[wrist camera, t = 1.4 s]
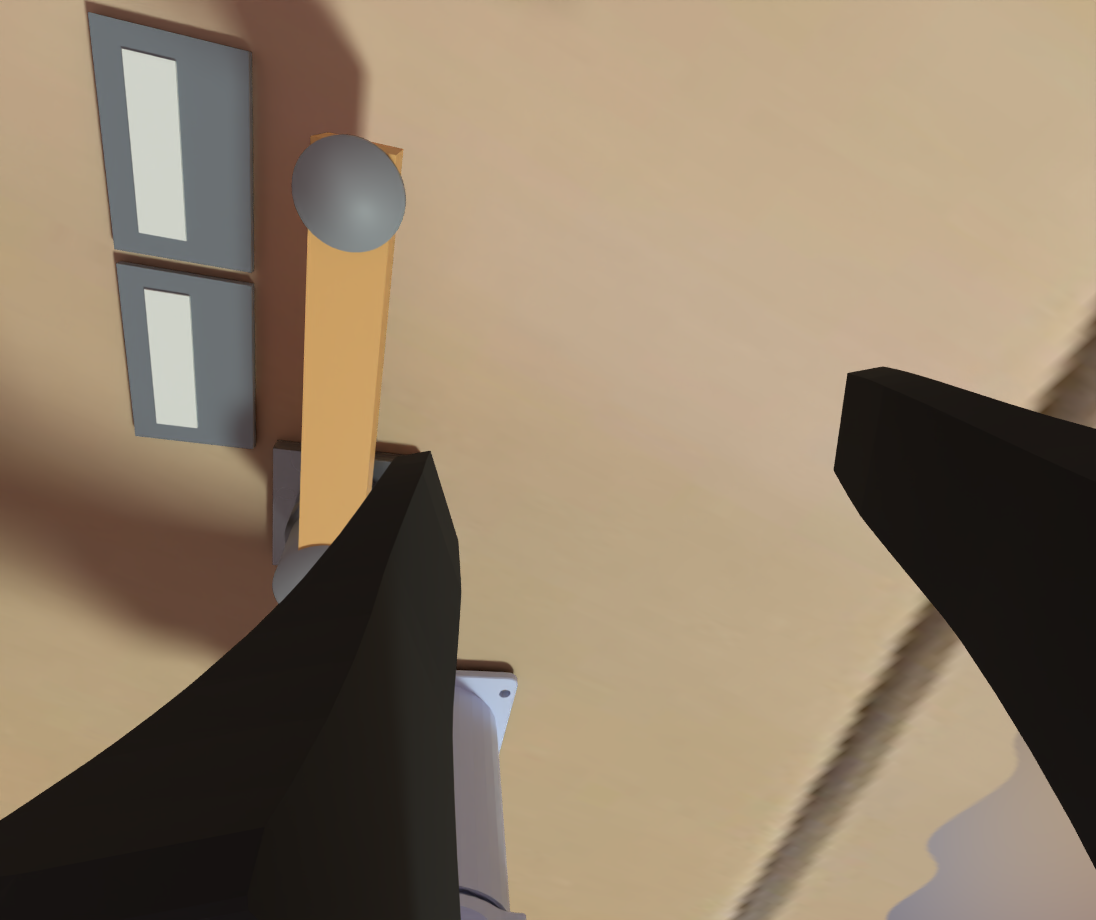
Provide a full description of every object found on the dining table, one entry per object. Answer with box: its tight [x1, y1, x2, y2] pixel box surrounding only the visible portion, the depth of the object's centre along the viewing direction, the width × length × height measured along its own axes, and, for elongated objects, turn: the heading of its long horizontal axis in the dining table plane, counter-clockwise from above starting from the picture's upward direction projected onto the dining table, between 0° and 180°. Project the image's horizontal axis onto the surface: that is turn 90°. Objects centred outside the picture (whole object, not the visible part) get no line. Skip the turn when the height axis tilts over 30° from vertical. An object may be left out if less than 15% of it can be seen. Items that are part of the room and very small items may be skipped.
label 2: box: [116, 261, 256, 449], centre depth 19 cm, size 6×4×1 cm, turn 168°
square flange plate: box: [273, 440, 405, 565], centre depth 22 cm, size 5×5×2 cm
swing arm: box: [272, 132, 406, 604], centre depth 17 cm, size 14×3×2 cm, turn 168°
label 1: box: [88, 12, 254, 273], centre depth 17 cm, size 6×4×1 cm, turn 168°
